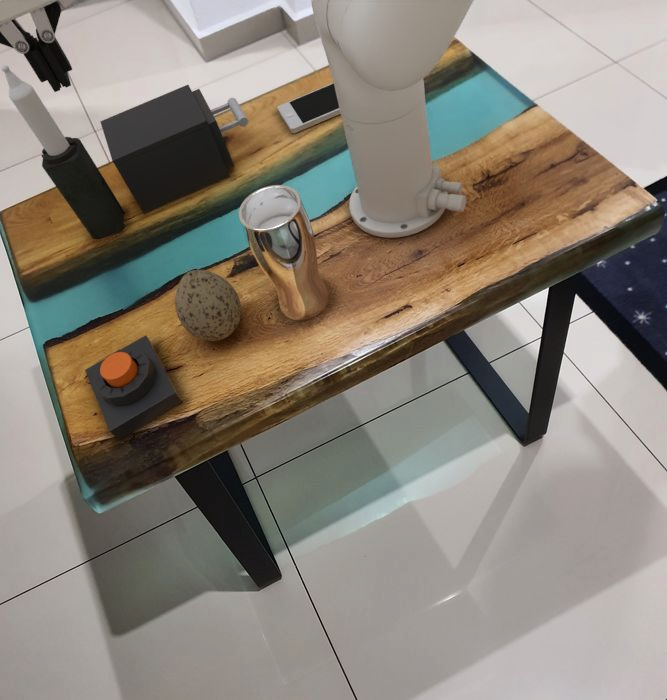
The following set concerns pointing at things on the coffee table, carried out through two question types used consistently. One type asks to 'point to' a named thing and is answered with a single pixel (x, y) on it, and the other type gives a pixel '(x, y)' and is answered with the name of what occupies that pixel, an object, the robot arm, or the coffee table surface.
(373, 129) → the robot arm
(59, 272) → the coffee table surface
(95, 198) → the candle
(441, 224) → the coffee table surface
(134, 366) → the button
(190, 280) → the decorative egg
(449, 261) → the coffee table surface
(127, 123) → the fryer
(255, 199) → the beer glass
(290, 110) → the smartphone
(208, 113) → the fryer drawer
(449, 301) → the coffee table surface
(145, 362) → the block
